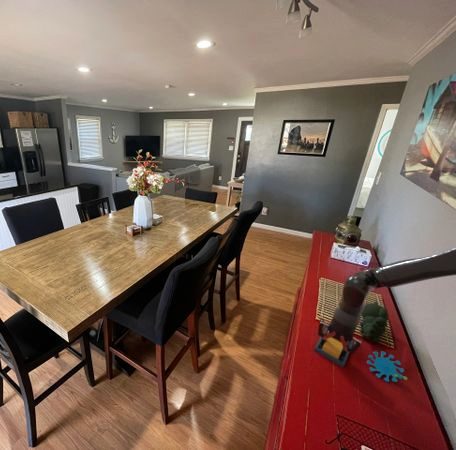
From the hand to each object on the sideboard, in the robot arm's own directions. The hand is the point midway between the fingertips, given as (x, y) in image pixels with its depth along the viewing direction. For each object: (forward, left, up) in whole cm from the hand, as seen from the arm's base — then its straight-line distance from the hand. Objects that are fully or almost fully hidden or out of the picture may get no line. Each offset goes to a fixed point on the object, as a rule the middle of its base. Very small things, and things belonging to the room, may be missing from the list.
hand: (332, 350), depth 98 cm
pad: (0, 0, -1) cm, 1 cm away
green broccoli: (-8, -27, -1) cm, 28 cm away
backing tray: (0, -4, -1) cm, 4 cm away
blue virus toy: (-16, -4, -1) cm, 16 cm away
